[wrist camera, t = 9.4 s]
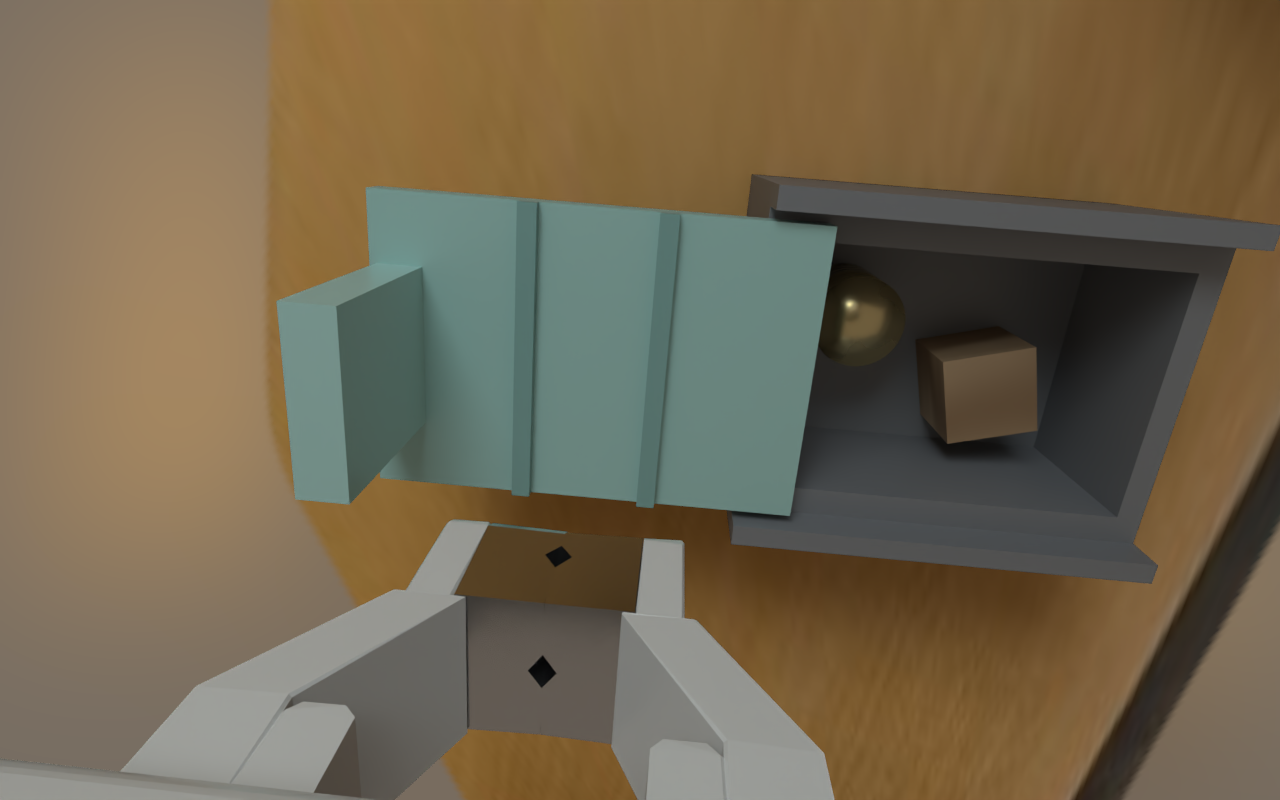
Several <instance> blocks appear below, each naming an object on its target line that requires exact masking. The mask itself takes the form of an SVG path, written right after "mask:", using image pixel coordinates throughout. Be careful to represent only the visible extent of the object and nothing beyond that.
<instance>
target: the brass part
mask: <svg viewBox="0 0 1280 800" xmlns="http://www.w3.org/2000/svg"><path fill="white" fill-rule="evenodd" d="M904 327H905V309H904V306H903V303H902V301H901V299H900V297H899V295H898V294H897V293H896V292H895V290H894V289H893V288H891V287H890V286H889V285H887V284H886V283H884V282H883V281H881V280H880V279H878V278H877V277H875V276H874V275H872V274H871V273H869V272H868V271H866V270H865V269H863V268H861V267H859V266H856V265H853V264H835V265H831V269H830V275H829V282H828V288H827V294H826V300H825V306H824V312H823V318H822V324H821V330H820V336H819V342H818V346H819V348H820V349H821V351H822V352H823V353H824V354H825V355H826V356H827V357H829V358H830V359H831V360H833V361H835V362H837V363H839V364H843V365H847V366H864V365H868V364H871V363H874V362H876V361H878V360H880V359H882V358H883V357H885V356H886V355H888V354H889V353H890V352H891V351H892V350H893V349H894V348H895V346H896V345H897V344H898V342H899V340H900V338H901V336H902V334H903V331H904Z"/></svg>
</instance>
